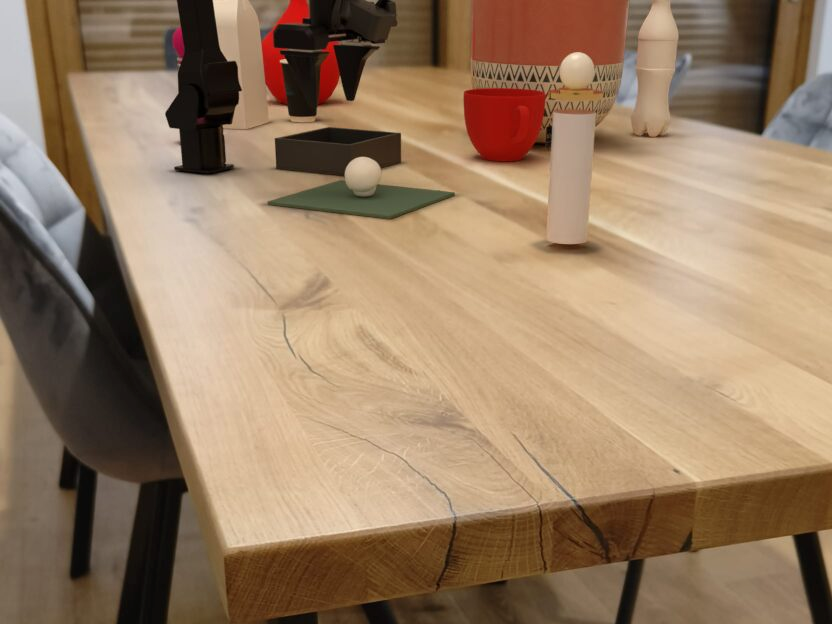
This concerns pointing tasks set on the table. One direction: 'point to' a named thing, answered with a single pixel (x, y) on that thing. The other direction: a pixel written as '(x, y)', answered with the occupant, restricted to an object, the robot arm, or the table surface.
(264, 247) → the table surface
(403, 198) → the placemat
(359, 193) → the mushroom
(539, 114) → the ceramic cup
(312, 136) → the black box
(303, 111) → the dixie cup
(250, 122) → the milk
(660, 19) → the water bottle
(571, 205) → the perfume bottle
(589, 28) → the planter
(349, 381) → the table surface
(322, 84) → the vase
